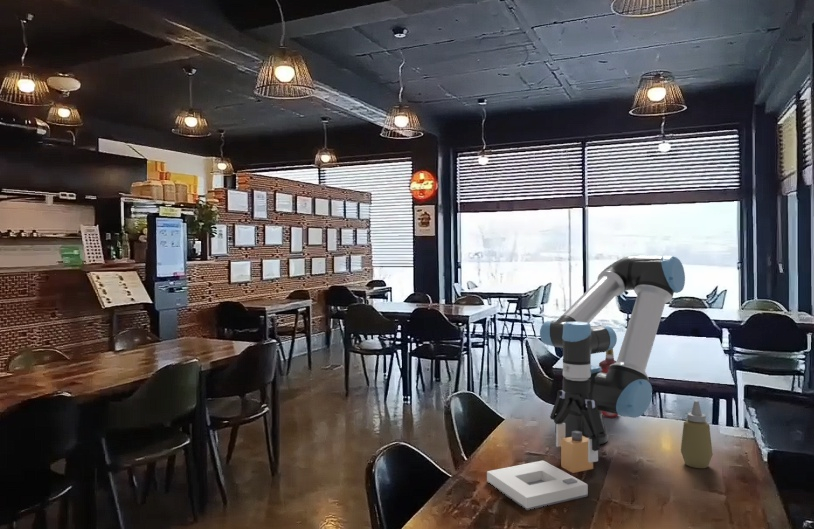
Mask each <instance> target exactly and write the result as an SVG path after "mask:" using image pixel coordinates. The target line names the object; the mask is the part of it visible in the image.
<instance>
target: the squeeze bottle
mask: <svg viewBox="0 0 814 529" xmlns="http://www.w3.org/2000/svg"><path fill="white" fill-rule="evenodd" d="M692 405H693V406H692V409H691V411H690V412H687V416H686V417H687V419H686V420H685V421H683V426H682V434H681V444H680V453H681V455H682V456H681V457H682V459H683V460H684V464H685V465H686V466H688V467H690V468H695V469H706V468H709V465H710V463H711V460H712V459H713V458H712V457H713V455H714V454H713V447H712V436H711V428H710V423H708V422H707V417H706V416H707V415H706V414H705V413H702V410H701V406H700V401H699V400H694V401H693V404H692Z"/></svg>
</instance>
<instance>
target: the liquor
mask: <svg viewBox="0 0 814 529" xmlns="http://www.w3.org/2000/svg"><path fill="white" fill-rule="evenodd" d="M614 357H615V355H614V348H612V349H611V350H608V351H606V352H605V359H603V360H602V361H600V362H599V363H598V366H600V367H601V369H602V373H608V370H609V367H610V365H611V364H614V363H616V362H617V360H615V358H614ZM618 416H619V415H617V414H613V413H609V412H605V411H602V417H604V418H610V419H611V418H612V419H613V418H616V417H618Z"/></svg>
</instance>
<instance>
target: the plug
mask: <svg viewBox="0 0 814 529" xmlns="http://www.w3.org/2000/svg"><path fill="white" fill-rule="evenodd" d="M560 461H561V463H560V464H561V465H560V466H561V468H563V469H565V470H566V471H568V472H570V473H572V474H574V473H579V472H585V471H589V470H593V469H594V462H591V463H590V462H588V438H586V437H584V436H582V432H580V431H572V437H568V438H562V439H561V447H560Z"/></svg>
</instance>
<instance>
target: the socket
mask: <svg viewBox="0 0 814 529" xmlns="http://www.w3.org/2000/svg"><path fill="white" fill-rule="evenodd" d="M487 482H488V483H490V484H491V485H493V486H494V487H495V488H494V487H493V486H492V487H493V488H494V489H496V488H497V489H498V490H499V491H498V492H500V493H501V492H502V494H503V495H504V494H505V495H504V496H506V497H507V498H509V499H510V500H511V499H512V501H513V502H514V503H516V504H517V505H519V506H520V507H521V506H522V507H521V508H523V509H524V508H525V509H524V510H526V511H530V509H531V510H535V509H539V508H544V507H547V505H548V506H552V505H556V504H560V503H565V502H569V501H573V500H577V499H583V498H587V497H588V495H589V494H588V493H589V492H588V490H589V489H588V486H589V485H588V483H586V482H584V481H582V480H581V479H579V478H576V477H575V476H573V475H570V474H569V472H568V473H567V472H566V471H564V470H562V469H560V468H558V467H556V466H554V465H553V464H550V463H549V462H547V461H545V460H544V459H543V460H539V461H531V462H528V463H523V464H519V465H513V466H508V467H503V468H502V467H501V468H498V469H492V470H487V471H486V483H487ZM488 483H487V484H488ZM490 484H489V485H490ZM491 485H490V486H491ZM497 489H496V490H497ZM543 506H544V507H543ZM534 508H535V509H534Z"/></svg>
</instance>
